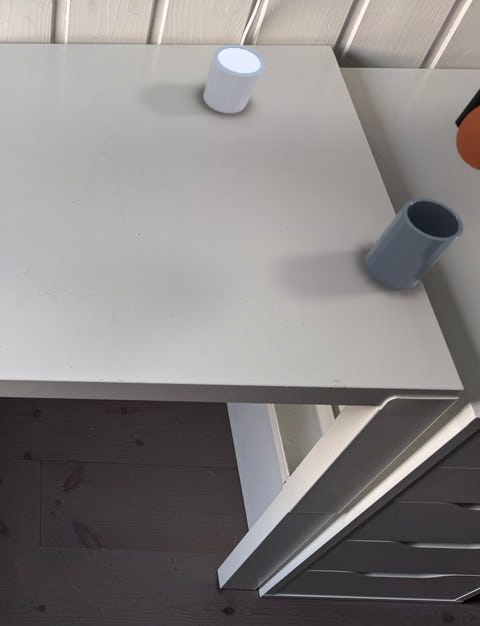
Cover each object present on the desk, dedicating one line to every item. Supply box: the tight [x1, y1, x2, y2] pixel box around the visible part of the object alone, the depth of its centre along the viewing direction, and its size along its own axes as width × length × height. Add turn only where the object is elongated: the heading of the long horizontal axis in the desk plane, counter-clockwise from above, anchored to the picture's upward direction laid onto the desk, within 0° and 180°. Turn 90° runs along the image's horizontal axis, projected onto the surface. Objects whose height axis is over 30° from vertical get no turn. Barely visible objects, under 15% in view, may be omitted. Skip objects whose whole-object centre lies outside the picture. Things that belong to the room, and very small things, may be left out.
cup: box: [363, 197, 464, 291], centre depth 73 cm, size 6×6×9 cm
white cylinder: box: [202, 44, 267, 114], centre depth 89 cm, size 7×7×7 cm
